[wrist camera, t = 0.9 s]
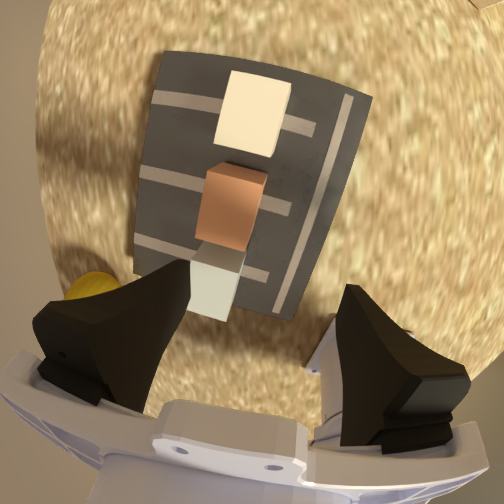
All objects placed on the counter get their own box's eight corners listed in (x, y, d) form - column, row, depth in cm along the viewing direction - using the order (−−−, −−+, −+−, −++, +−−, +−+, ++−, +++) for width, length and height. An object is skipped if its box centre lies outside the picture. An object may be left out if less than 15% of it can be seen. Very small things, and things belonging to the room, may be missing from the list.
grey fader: (247, 249, 20) (238, 273, 17) (235, 294, 21) (226, 322, 18) (206, 237, 20) (190, 259, 17) (198, 283, 21) (184, 308, 18)
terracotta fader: (267, 173, 17) (262, 185, 14) (252, 230, 19) (244, 252, 16) (222, 162, 17) (207, 170, 14) (210, 218, 19) (194, 237, 16)
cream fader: (291, 91, 14) (290, 83, 12) (274, 151, 16) (270, 157, 13) (242, 79, 14) (231, 70, 12) (227, 139, 16) (213, 143, 13)
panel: (365, 99, 16) (373, 96, 14) (291, 306, 24) (291, 321, 22) (175, 55, 16) (164, 50, 14) (143, 262, 24) (132, 273, 23)
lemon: (86, 260, 25) (39, 302, 18) (125, 254, 24) (75, 303, 17) (106, 303, 28) (67, 351, 21) (145, 303, 27) (107, 357, 19)
